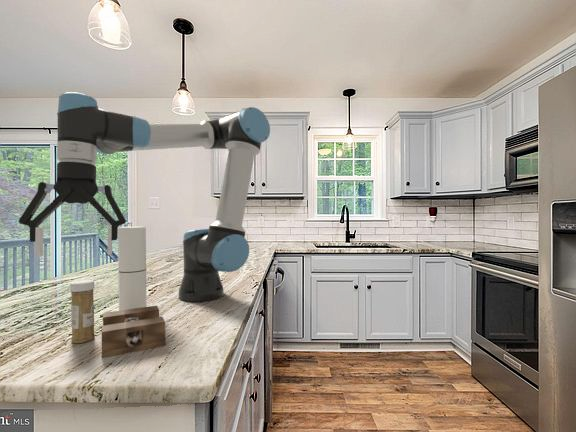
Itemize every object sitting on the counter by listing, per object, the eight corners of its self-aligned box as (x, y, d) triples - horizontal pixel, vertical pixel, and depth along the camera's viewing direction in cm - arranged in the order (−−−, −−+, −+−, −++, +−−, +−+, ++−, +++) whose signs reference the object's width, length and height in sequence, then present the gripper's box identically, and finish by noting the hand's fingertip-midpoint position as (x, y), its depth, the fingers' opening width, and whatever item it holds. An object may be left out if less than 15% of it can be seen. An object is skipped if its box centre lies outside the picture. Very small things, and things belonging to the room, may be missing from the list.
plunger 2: (139, 335, 71) (139, 324, 71) (141, 345, 66) (141, 333, 66) (127, 337, 70) (127, 326, 70) (128, 347, 64) (128, 336, 64)
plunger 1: (136, 321, 80) (136, 311, 80) (138, 329, 75) (138, 319, 75) (125, 322, 79) (125, 313, 79) (126, 331, 74) (126, 320, 73)
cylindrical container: (118, 319, 85) (117, 227, 85) (119, 312, 92) (118, 226, 92) (147, 315, 89) (146, 227, 88) (145, 308, 95) (145, 226, 95)
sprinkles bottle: (95, 341, 71) (94, 281, 71) (70, 345, 69) (70, 284, 68) (94, 334, 75) (93, 278, 75) (71, 338, 72) (70, 280, 72)
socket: (157, 324, 82) (156, 305, 82) (165, 345, 69) (165, 322, 69) (103, 332, 76) (103, 312, 76) (101, 357, 63) (101, 332, 63)
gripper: (0, 155, 64) (-2, 259, 63) (137, 165, 74) (135, 255, 74) (14, 161, 70) (12, 255, 70) (137, 169, 81) (136, 251, 81)
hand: (75, 255), depth 72 cm, fingers open, 13 cm apart
